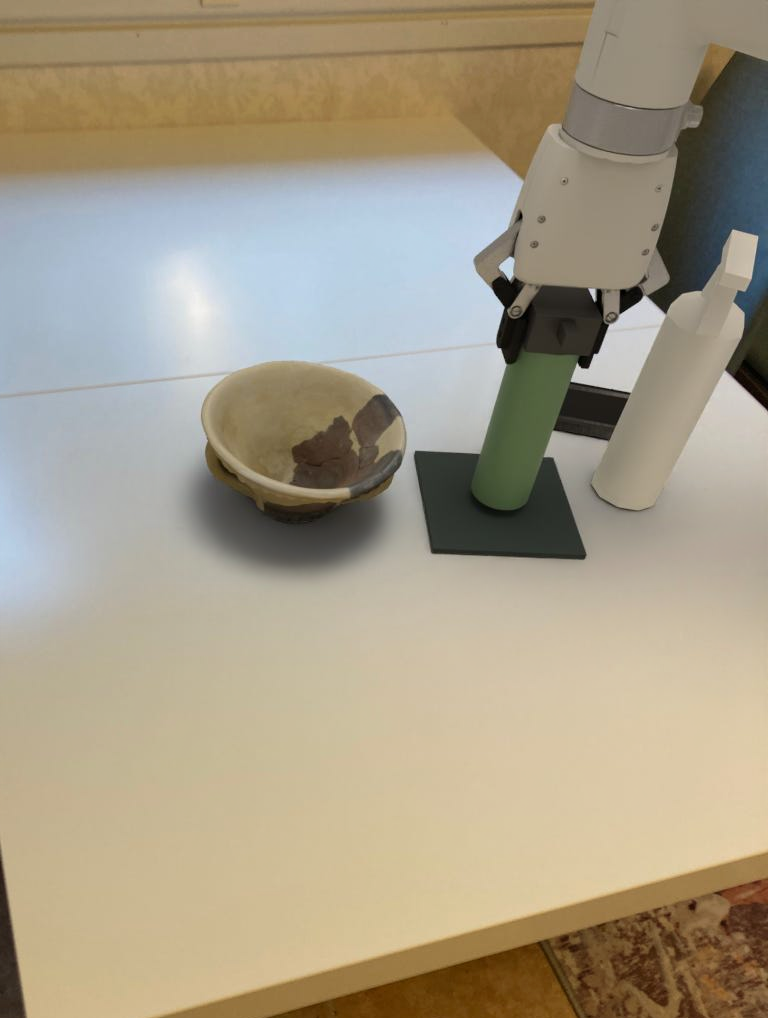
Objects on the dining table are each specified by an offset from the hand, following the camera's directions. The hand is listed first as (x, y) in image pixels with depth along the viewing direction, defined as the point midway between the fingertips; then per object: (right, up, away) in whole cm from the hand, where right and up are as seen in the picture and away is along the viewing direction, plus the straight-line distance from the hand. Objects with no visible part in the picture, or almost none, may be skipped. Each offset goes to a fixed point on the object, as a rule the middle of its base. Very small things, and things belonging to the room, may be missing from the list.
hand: (543, 355), depth 76 cm
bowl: (-20, -11, +10) cm, 25 cm away
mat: (-1, -10, +12) cm, 16 cm away
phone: (+12, 0, +23) cm, 26 cm away
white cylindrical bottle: (+13, -8, +16) cm, 22 cm away
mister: (-1, -9, +11) cm, 14 cm away
